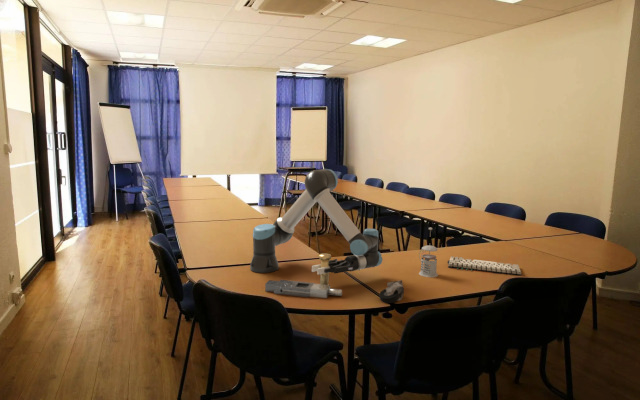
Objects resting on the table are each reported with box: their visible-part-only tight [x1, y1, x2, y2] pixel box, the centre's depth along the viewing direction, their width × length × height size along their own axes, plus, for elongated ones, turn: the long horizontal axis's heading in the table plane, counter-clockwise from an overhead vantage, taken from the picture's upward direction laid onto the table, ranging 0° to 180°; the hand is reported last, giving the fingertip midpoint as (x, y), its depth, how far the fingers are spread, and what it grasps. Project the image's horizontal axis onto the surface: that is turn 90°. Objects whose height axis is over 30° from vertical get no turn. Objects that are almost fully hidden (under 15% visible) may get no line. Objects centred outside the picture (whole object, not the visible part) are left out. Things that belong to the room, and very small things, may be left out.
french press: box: [418, 227, 439, 278], centre depth 214 cm, size 10×12×25 cm
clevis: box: [264, 279, 343, 299], centre depth 187 cm, size 35×9×4 cm, turn 76°
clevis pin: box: [318, 253, 332, 285], centre depth 193 cm, size 6×6×14 cm
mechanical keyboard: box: [447, 256, 522, 277], centre depth 228 cm, size 38×19×3 cm, turn 70°
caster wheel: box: [378, 279, 405, 304], centre depth 180 cm, size 7×11×10 cm
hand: (315, 270), depth 190 cm, fingers closed on clevis pin, 4 cm apart
